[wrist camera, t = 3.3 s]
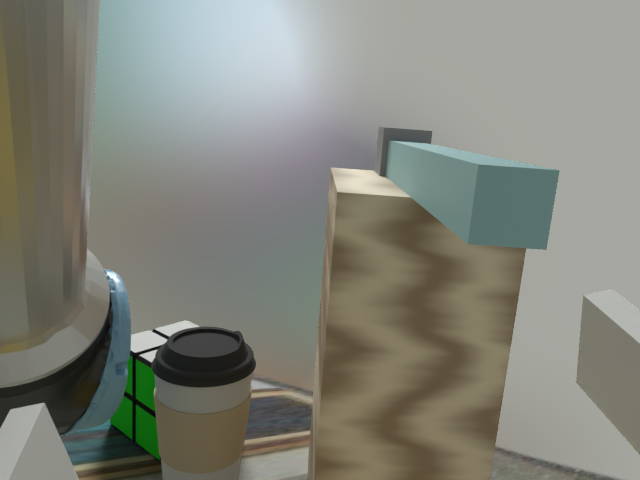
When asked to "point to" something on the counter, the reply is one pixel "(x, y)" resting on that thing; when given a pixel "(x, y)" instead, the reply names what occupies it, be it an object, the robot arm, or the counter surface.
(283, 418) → the counter surface
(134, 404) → the puzzle cube
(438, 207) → the teal bar
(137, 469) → the counter surface
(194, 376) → the coffee cup
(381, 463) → the birch stand
